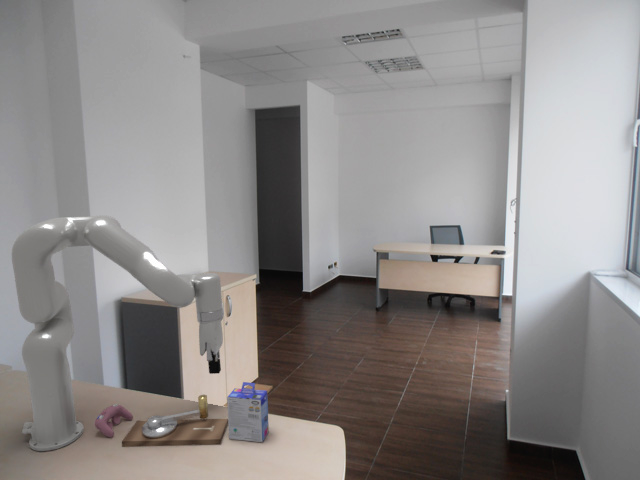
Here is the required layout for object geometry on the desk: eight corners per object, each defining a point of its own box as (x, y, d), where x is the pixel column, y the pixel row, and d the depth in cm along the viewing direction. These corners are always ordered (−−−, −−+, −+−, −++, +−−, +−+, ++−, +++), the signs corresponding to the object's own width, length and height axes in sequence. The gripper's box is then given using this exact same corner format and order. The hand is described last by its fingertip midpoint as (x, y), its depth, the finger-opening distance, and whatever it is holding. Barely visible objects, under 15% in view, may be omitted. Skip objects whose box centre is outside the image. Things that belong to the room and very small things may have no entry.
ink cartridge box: (270, 431, 116) (267, 381, 114) (263, 443, 110) (261, 392, 108) (236, 427, 118) (233, 379, 115) (228, 439, 112) (225, 389, 110)
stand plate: (122, 446, 110) (121, 441, 110) (137, 425, 120) (137, 420, 119) (220, 444, 110) (220, 438, 110) (228, 423, 120) (228, 418, 119)
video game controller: (123, 422, 124) (112, 402, 124) (135, 417, 123) (124, 396, 123) (100, 443, 114) (88, 421, 114) (113, 437, 113) (100, 415, 113)
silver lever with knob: (141, 441, 109) (139, 417, 108) (142, 423, 118) (140, 400, 117) (209, 426, 115) (208, 403, 114) (206, 410, 124) (205, 388, 123)
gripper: (204, 307, 132) (209, 362, 135) (189, 323, 117) (195, 385, 120) (228, 306, 132) (232, 361, 135) (216, 322, 117) (221, 383, 120)
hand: (215, 372), depth 127 cm, fingers closed
